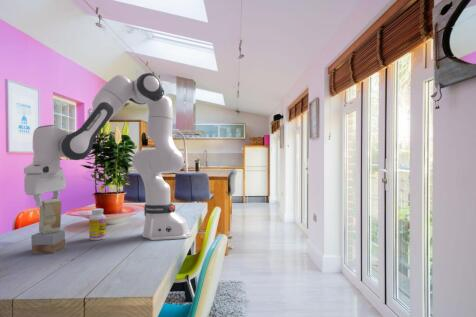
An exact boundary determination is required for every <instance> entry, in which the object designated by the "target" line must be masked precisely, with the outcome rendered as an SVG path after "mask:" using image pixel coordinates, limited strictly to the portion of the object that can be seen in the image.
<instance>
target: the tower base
mask: <svg viewBox="0 0 476 317" xmlns="http://www.w3.org/2000/svg"><path fill="white" fill-rule="evenodd" d="M65 248H66V238H65V239H64V240H62V241H60V242H58V243H56V244H54V245H32V244H31V254H33V255H34V254H35V255H36V254H37V255H38V254H46V255H47V254H55V253H57V251H58V252H59V251H61V250H63V249H65Z"/></svg>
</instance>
